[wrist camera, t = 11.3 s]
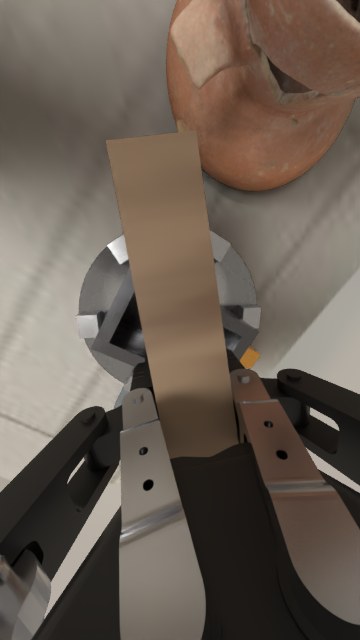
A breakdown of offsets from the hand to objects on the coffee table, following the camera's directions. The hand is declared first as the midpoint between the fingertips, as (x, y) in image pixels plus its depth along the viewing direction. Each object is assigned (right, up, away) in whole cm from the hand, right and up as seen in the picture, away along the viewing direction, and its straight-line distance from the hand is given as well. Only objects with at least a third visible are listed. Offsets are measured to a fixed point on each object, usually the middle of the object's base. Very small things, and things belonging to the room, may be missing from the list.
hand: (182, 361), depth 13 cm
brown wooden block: (-1, +9, -3) cm, 10 cm away
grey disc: (-1, +3, +10) cm, 11 cm away
